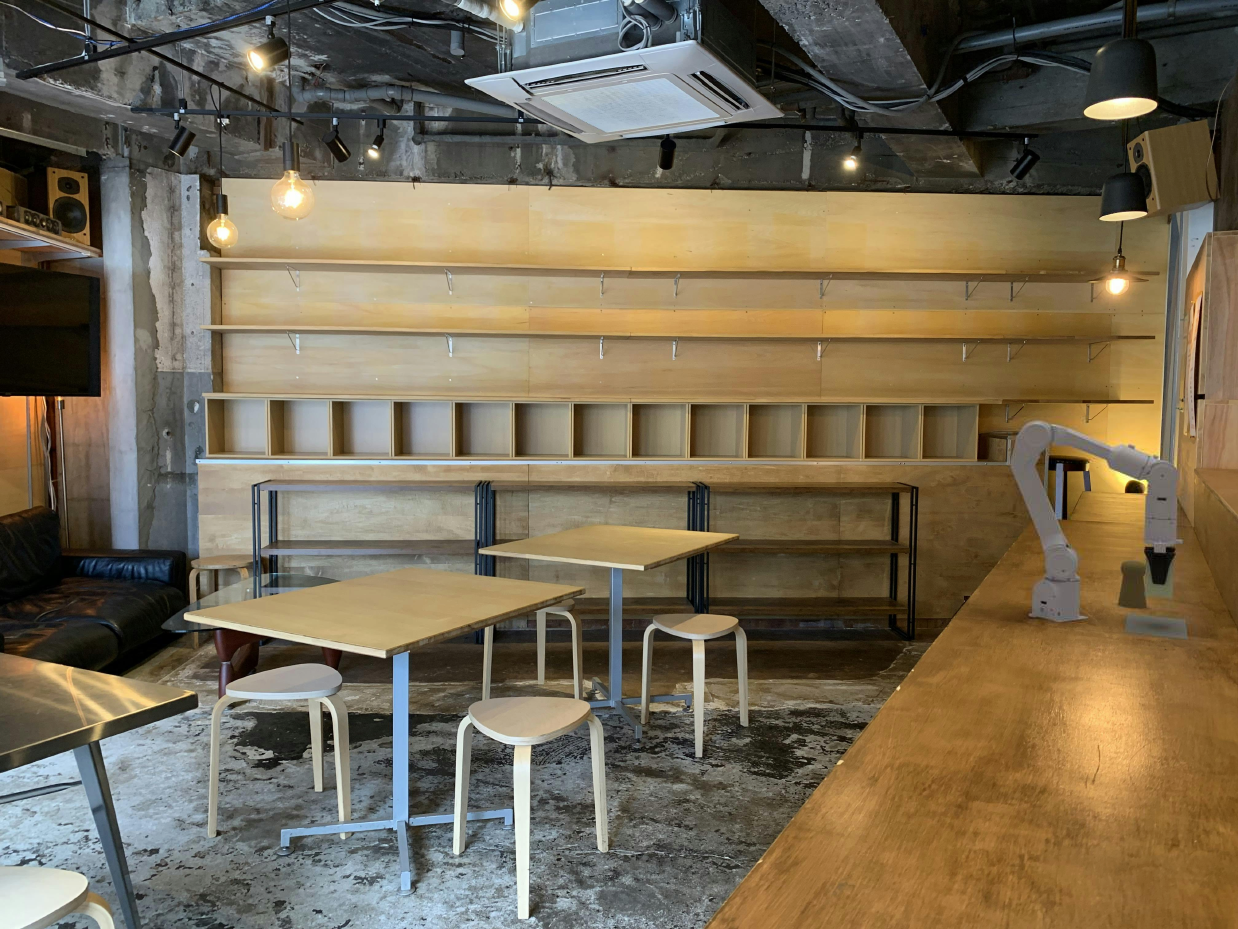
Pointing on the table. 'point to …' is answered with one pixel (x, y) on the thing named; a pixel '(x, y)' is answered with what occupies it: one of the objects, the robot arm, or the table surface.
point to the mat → (1156, 626)
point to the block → (1158, 589)
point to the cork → (1132, 585)
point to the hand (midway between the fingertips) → (1158, 582)
